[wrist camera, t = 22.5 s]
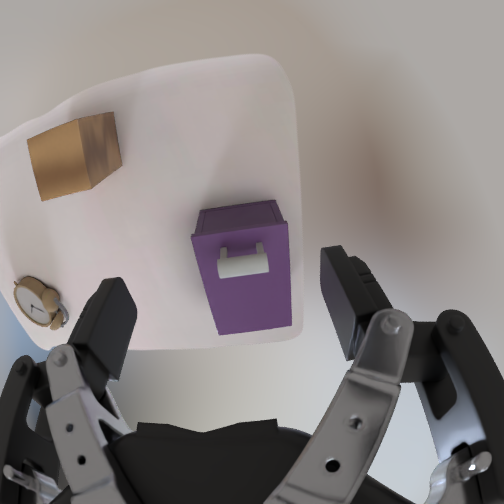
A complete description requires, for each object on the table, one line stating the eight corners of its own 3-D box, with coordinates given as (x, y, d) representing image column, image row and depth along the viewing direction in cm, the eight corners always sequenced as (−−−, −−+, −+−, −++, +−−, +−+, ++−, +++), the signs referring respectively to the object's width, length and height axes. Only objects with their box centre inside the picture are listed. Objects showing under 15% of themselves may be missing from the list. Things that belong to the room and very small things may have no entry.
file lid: (191, 233, 31) (185, 260, 26) (286, 220, 31) (296, 244, 26) (218, 331, 39) (218, 360, 35) (291, 321, 40) (297, 350, 35)
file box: (199, 210, 38) (193, 238, 31) (275, 199, 38) (286, 225, 31) (219, 295, 47) (218, 331, 40) (282, 286, 47) (290, 321, 40)
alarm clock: (7, 278, 38) (55, 305, 39) (21, 265, 42) (68, 290, 43) (20, 316, 43) (65, 343, 44) (31, 303, 48) (76, 328, 49)
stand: (67, 126, 29) (26, 139, 21) (113, 111, 29) (77, 118, 21) (77, 176, 33) (41, 201, 25) (122, 165, 34) (91, 189, 25)
